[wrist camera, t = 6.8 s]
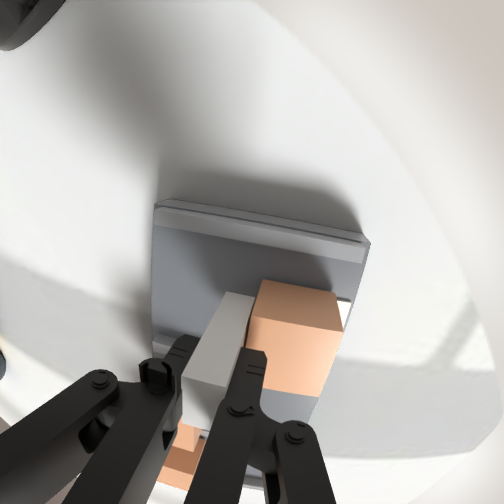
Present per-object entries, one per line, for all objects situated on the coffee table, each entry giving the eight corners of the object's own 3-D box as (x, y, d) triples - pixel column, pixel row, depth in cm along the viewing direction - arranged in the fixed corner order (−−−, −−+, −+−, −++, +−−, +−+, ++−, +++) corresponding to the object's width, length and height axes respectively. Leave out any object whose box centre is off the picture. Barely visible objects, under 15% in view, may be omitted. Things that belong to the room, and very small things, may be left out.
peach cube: (157, 362, 19) (132, 399, 15) (211, 377, 19) (194, 419, 15) (159, 398, 20) (139, 433, 17) (208, 413, 20) (193, 452, 16)
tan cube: (162, 426, 22) (145, 459, 18) (206, 439, 21) (193, 475, 18) (165, 448, 23) (150, 478, 19) (204, 460, 23) (193, 492, 19)
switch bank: (168, 198, 18) (146, 206, 15) (363, 234, 17) (375, 248, 14) (169, 445, 26) (160, 465, 23) (277, 470, 25) (274, 492, 22)
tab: (262, 279, 16) (251, 315, 12) (335, 292, 16) (344, 332, 12) (252, 339, 17) (239, 383, 13) (317, 351, 17) (318, 397, 13)
